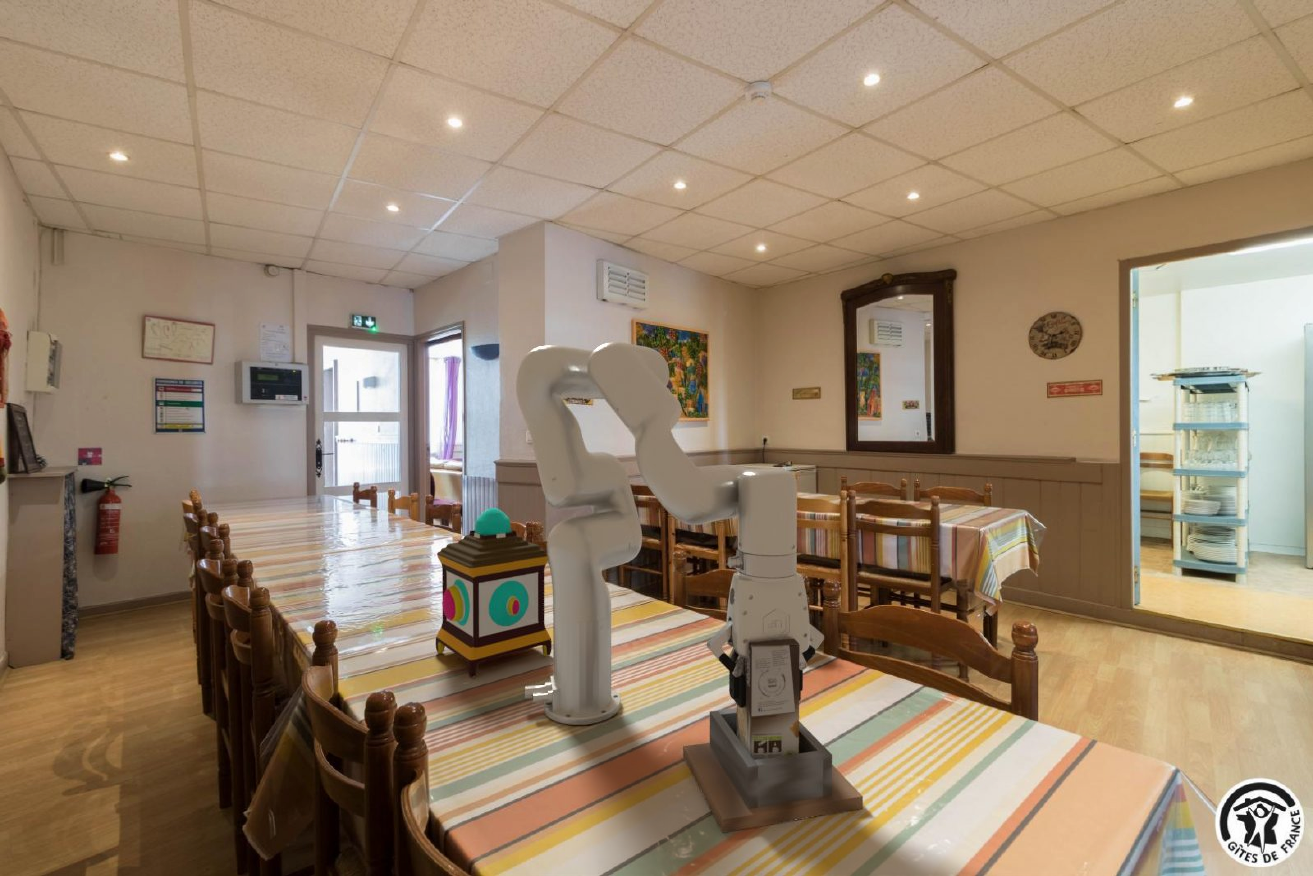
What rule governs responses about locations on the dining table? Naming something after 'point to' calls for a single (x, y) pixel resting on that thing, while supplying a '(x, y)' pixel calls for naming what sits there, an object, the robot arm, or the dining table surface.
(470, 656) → the decorative lantern
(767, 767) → the post socket
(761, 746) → the coffee box
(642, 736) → the dining table surface
